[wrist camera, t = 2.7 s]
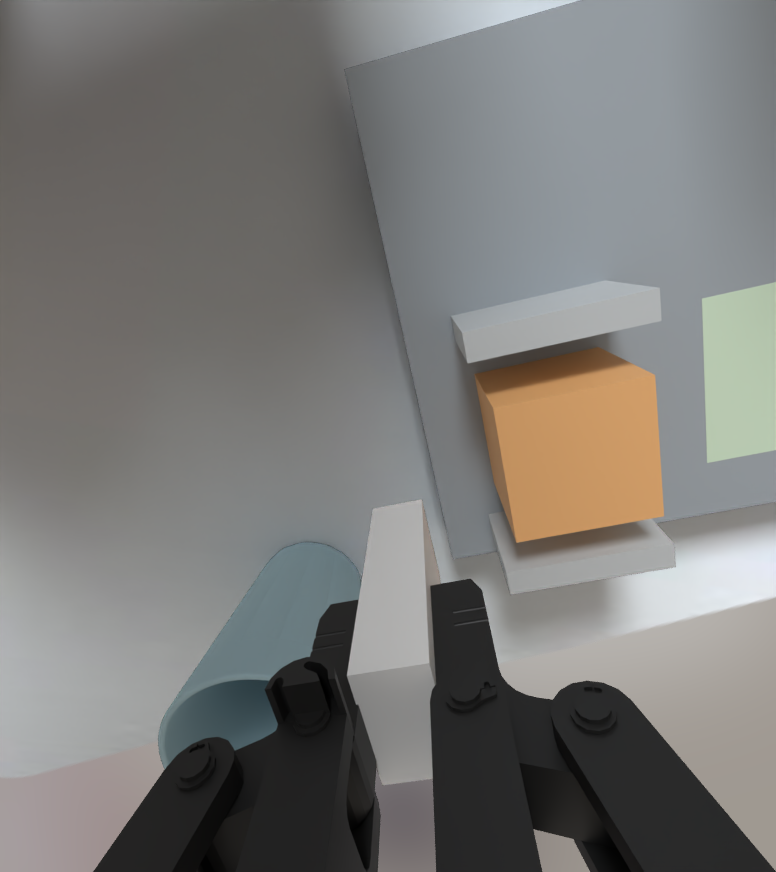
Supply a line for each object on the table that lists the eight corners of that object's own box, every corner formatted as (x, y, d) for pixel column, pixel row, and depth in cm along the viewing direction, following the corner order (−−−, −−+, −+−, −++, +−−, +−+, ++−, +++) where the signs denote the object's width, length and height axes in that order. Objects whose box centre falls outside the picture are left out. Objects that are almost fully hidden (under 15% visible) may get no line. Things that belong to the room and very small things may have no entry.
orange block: (474, 373, 21) (493, 408, 16) (598, 346, 20) (655, 374, 16) (493, 482, 23) (516, 542, 18) (609, 460, 22) (664, 516, 17)
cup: (395, 538, 27) (386, 699, 17) (368, 650, 30) (348, 846, 20) (253, 510, 27) (164, 657, 17) (239, 626, 30) (154, 811, 20)
